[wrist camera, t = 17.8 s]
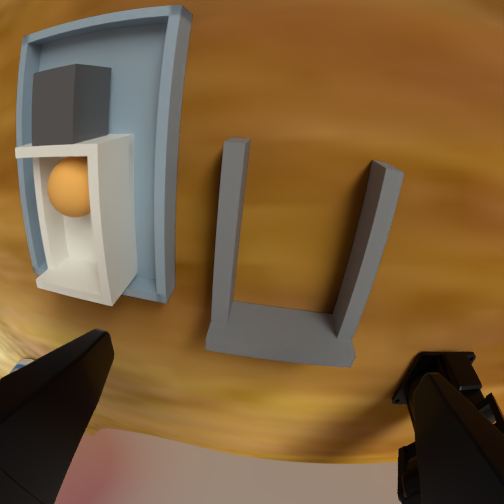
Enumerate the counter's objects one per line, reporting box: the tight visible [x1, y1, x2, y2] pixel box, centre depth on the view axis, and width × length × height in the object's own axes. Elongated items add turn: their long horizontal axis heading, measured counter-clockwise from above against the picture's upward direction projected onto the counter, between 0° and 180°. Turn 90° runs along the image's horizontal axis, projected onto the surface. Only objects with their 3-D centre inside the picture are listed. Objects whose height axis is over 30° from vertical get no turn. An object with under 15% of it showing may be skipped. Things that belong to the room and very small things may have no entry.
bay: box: [206, 137, 404, 368], centre depth 17 cm, size 12×9×4 cm
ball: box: [47, 156, 91, 217], centre depth 15 cm, size 4×4×4 cm
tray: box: [16, 5, 193, 303], centre depth 16 cm, size 17×11×2 cm, turn 173°
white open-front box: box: [15, 64, 138, 306], centre depth 15 cm, size 13×6×4 cm, turn 174°
